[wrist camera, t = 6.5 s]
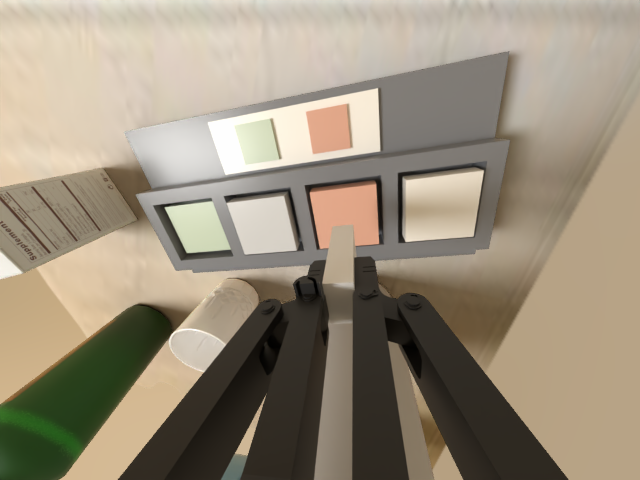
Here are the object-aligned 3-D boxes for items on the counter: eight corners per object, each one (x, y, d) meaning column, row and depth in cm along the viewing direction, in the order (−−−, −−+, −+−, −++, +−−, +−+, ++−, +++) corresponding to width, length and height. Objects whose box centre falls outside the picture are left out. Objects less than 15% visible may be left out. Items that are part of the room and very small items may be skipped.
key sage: (236, 243, 28) (230, 249, 27) (194, 247, 29) (186, 253, 28) (219, 196, 26) (212, 201, 24) (174, 202, 27) (164, 207, 25)
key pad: (467, 245, 27) (486, 266, 23) (201, 264, 33) (182, 283, 30) (494, 57, 19) (531, 41, 15) (139, 130, 25) (101, 132, 22)
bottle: (110, 301, 40) (-279, 592, 15) (159, 295, 38) (-203, 625, 13) (143, 342, 44) (-113, 617, 20) (190, 339, 42) (-36, 645, 18)
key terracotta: (377, 236, 24) (379, 244, 23) (321, 241, 25) (319, 248, 24) (374, 180, 21) (376, 184, 20) (312, 188, 22) (309, 192, 21)
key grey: (299, 243, 25) (296, 250, 24) (250, 247, 27) (244, 254, 25) (288, 191, 23) (283, 195, 21) (233, 198, 24) (226, 203, 22)
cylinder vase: (313, 334, 37) (259, 637, 15) (302, 272, 32) (193, 611, 10) (391, 336, 35) (457, 687, 14) (395, 270, 30) (517, 689, 8)
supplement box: (101, 231, 33) (-27, 287, 22) (63, 180, 30) (-110, 216, 19) (140, 220, 31) (23, 276, 20) (104, 166, 28) (-58, 196, 17)
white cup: (239, 266, 33) (197, 320, 24) (273, 303, 35) (247, 363, 27) (204, 287, 35) (155, 341, 27) (237, 319, 38) (203, 379, 29)
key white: (465, 229, 22) (473, 236, 21) (402, 234, 23) (405, 241, 22) (474, 167, 20) (483, 170, 18) (402, 176, 21) (406, 180, 19)
